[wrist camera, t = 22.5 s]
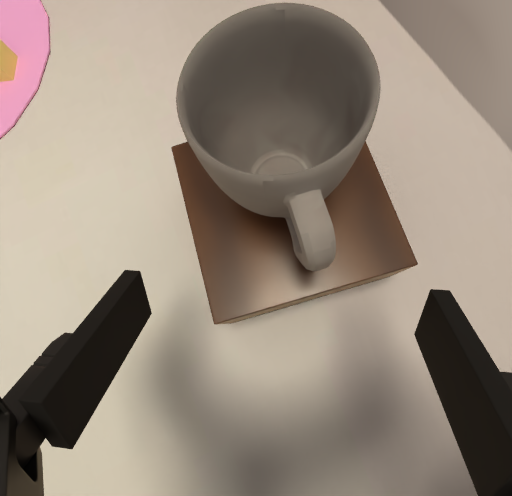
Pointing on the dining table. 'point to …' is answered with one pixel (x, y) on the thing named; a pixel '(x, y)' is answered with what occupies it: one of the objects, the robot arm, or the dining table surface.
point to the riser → (288, 242)
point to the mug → (281, 114)
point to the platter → (21, 56)
